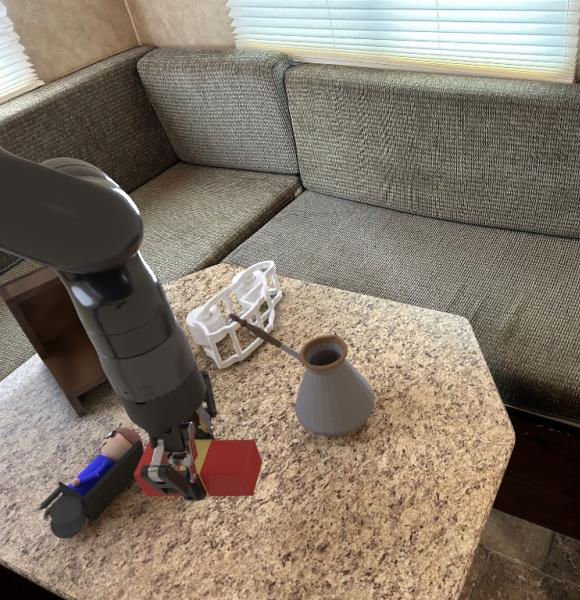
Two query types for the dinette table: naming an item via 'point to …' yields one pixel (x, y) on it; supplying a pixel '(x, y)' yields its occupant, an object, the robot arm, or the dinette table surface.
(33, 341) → the shelf rack
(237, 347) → the car outline toy
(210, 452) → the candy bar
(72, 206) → the robot arm
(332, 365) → the coffee pot
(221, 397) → the dinette table surface
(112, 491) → the character figurine
